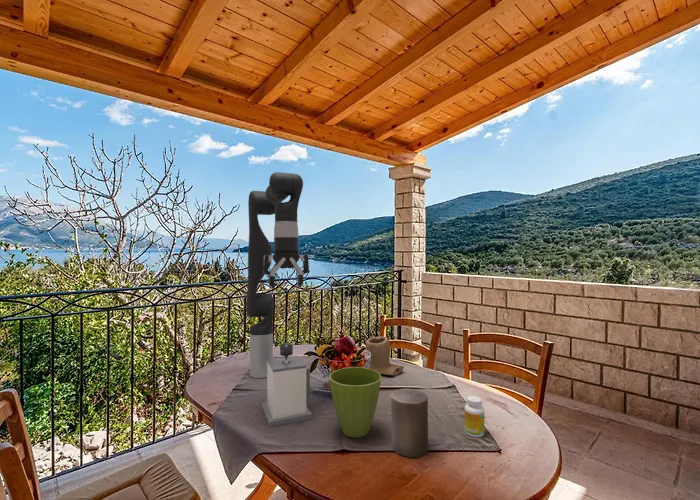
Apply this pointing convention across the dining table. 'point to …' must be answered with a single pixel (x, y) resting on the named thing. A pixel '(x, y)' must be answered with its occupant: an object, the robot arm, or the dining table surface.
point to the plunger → (286, 351)
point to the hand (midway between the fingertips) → (286, 287)
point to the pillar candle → (409, 422)
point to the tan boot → (381, 356)
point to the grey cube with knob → (287, 391)
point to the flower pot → (355, 398)
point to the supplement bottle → (474, 417)
